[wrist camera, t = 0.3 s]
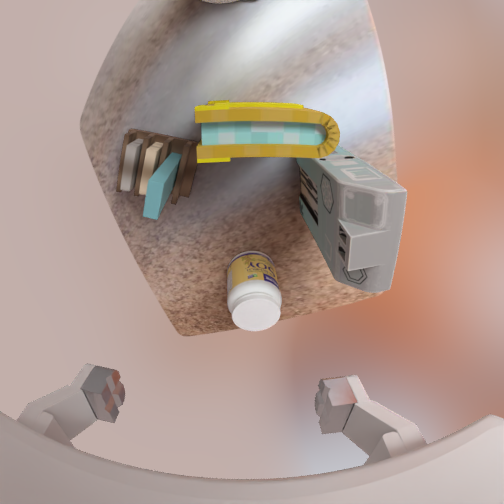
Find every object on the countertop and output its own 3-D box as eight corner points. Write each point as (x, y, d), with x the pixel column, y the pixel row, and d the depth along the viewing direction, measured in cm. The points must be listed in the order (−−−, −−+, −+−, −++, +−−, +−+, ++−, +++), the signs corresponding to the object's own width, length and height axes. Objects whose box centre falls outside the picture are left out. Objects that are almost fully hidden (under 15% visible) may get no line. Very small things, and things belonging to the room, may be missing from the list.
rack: (131, 128, 48) (120, 133, 43) (202, 143, 52) (199, 149, 47) (122, 180, 54) (112, 190, 49) (189, 194, 58) (185, 206, 53)
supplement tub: (280, 252, 69) (293, 299, 55) (266, 288, 75) (274, 336, 61) (232, 244, 66) (234, 291, 52) (222, 282, 72) (222, 330, 58)
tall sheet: (171, 152, 51) (148, 180, 36) (183, 154, 51) (164, 183, 36) (166, 178, 54) (142, 216, 39) (176, 181, 54) (157, 219, 40)
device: (294, 142, 53) (352, 194, 28) (328, 139, 53) (407, 189, 28) (299, 211, 62) (344, 300, 38) (330, 207, 62) (389, 290, 38)
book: (210, 132, 51) (197, 163, 30) (209, 101, 47) (194, 107, 26) (293, 132, 52) (337, 163, 31) (294, 101, 48) (341, 110, 28)
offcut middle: (156, 141, 49) (146, 149, 43) (165, 143, 50) (156, 151, 44) (148, 181, 54) (138, 193, 48) (156, 183, 54) (148, 195, 48)
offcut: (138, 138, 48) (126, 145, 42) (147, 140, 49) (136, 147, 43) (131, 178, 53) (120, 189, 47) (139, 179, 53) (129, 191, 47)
